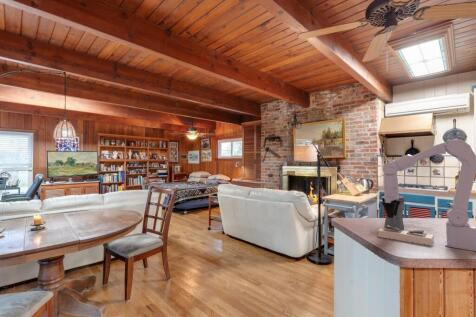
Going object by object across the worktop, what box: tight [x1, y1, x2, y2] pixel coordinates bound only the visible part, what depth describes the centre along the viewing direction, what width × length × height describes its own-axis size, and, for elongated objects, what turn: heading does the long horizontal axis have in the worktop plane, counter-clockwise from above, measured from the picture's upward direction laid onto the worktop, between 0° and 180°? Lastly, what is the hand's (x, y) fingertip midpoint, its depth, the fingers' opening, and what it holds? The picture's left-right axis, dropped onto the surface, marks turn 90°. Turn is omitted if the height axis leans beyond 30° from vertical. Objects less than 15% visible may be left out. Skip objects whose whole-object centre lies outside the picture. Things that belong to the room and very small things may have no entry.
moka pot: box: [381, 194, 406, 231], centre depth 128 cm, size 10×15×20 cm, turn 12°
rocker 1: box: [386, 225, 399, 231], centre depth 112 cm, size 5×3×1 cm, turn 46°
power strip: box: [377, 227, 435, 247], centre depth 109 cm, size 20×7×3 cm, turn 46°
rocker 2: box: [408, 229, 425, 233], centre depth 106 cm, size 5×3×1 cm, turn 46°
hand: (392, 216), depth 113 cm, fingers open, 7 cm apart
